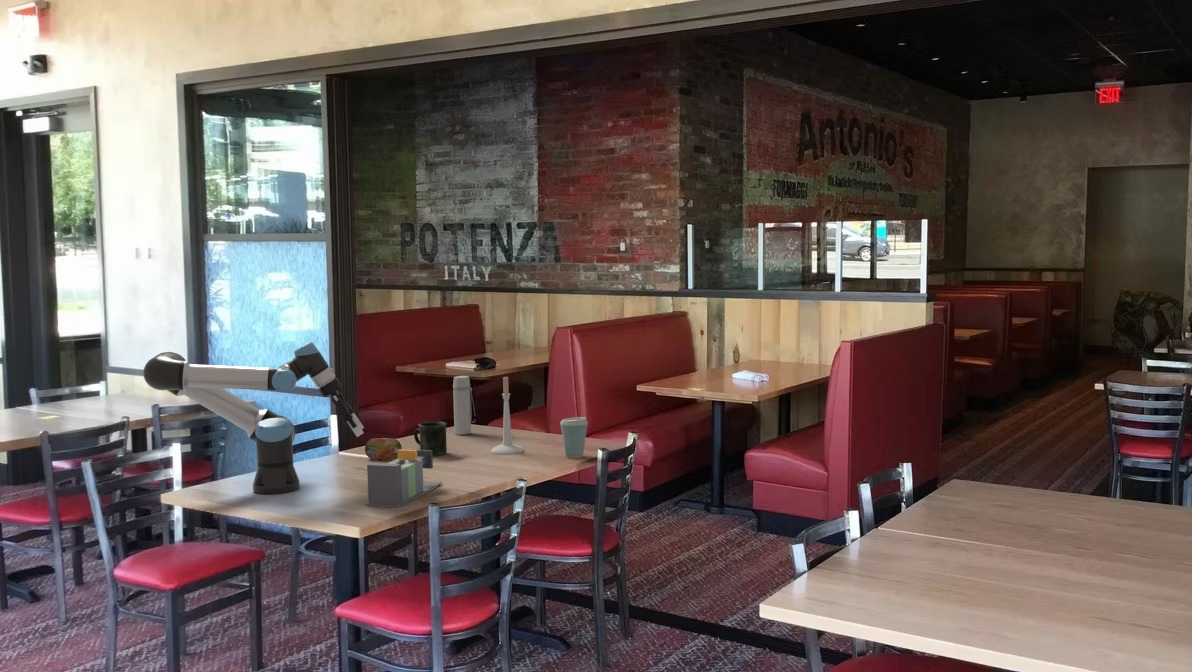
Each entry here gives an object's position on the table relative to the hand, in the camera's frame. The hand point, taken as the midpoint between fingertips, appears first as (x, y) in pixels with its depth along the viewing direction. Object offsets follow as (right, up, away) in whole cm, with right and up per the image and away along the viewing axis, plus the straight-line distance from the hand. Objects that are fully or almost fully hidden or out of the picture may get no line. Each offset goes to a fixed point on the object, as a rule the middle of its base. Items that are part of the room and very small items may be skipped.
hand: (360, 432), depth 363 cm
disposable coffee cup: (+75, -12, +28) cm, 82 cm away
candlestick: (+49, -12, +41) cm, 65 cm away
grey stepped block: (+21, -18, -28) cm, 40 cm away
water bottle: (+27, -9, +81) cm, 86 cm away
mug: (+18, -12, +39) cm, 45 cm away
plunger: (+23, -11, -23) cm, 34 cm away
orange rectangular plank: (+22, -6, -27) cm, 35 cm away
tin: (+2, -14, +29) cm, 32 cm away
